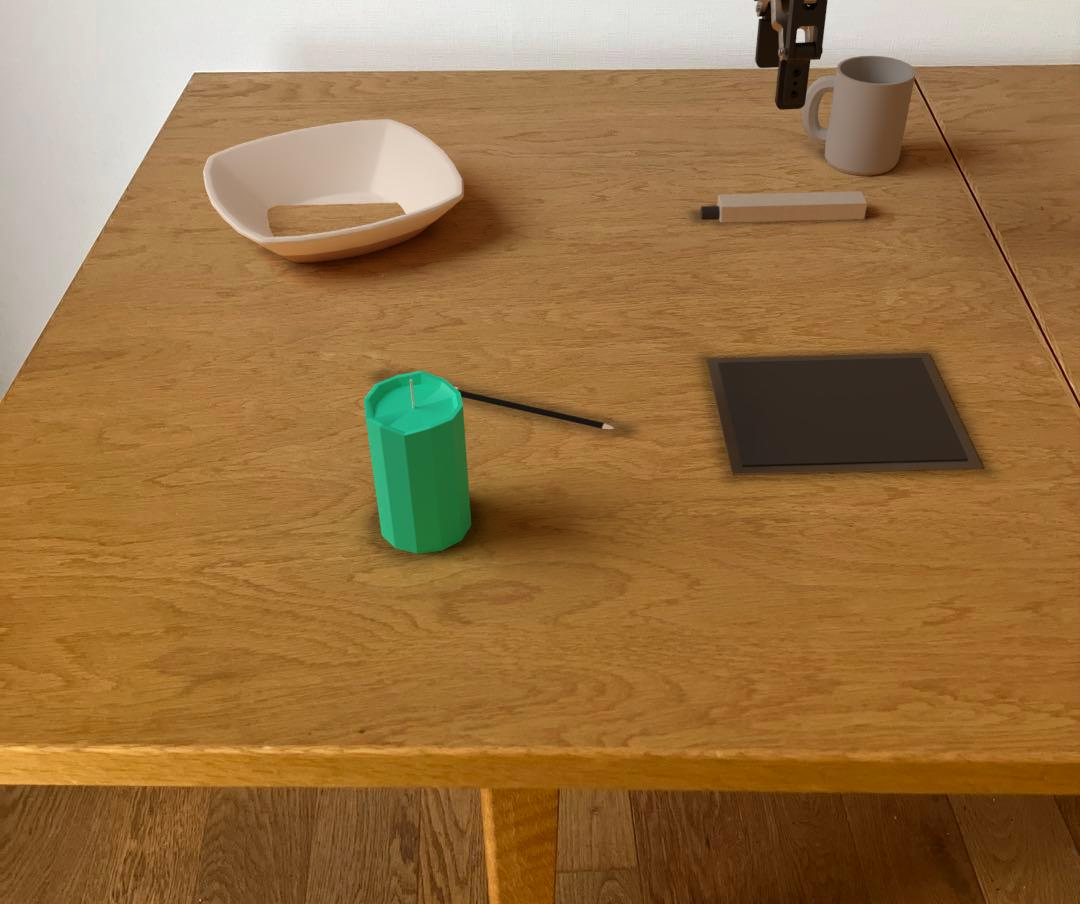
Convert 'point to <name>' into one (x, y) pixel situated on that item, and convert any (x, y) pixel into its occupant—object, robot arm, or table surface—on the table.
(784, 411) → the tablet
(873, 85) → the cup
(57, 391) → the table surface
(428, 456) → the candle
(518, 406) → the black pencil
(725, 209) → the stylus
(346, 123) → the bowl
